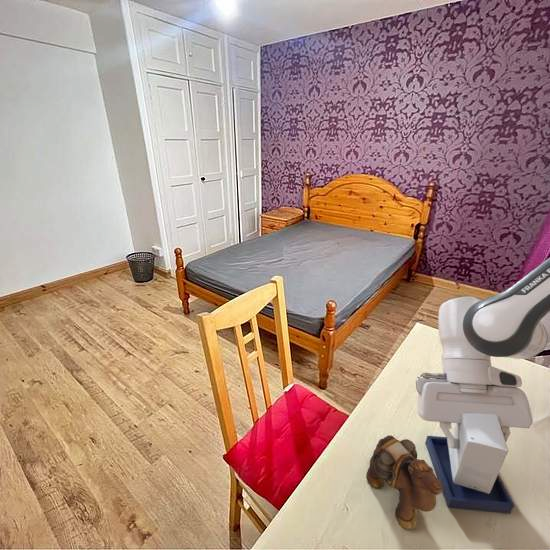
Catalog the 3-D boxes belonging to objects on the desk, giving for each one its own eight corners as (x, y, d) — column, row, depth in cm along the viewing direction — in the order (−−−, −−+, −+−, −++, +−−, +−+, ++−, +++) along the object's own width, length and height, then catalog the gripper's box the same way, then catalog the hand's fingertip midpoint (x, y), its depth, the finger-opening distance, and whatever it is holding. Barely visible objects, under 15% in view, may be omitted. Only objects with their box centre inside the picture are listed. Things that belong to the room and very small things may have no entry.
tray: (476, 447, 69) (479, 439, 68) (510, 513, 57) (514, 506, 56) (424, 442, 70) (427, 435, 69) (447, 507, 59) (450, 500, 57)
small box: (490, 495, 58) (509, 452, 52) (452, 483, 60) (467, 441, 54) (481, 455, 65) (497, 413, 59) (447, 446, 67) (460, 405, 61)
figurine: (407, 549, 53) (424, 501, 46) (351, 469, 65) (358, 422, 59) (444, 521, 57) (465, 472, 50) (385, 450, 69) (395, 404, 62)
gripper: (420, 371, 61) (426, 449, 57) (530, 378, 59) (545, 458, 55) (410, 372, 67) (415, 442, 63) (509, 377, 65) (522, 450, 61)
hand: (476, 450), depth 59 cm, fingers closed on small box, 7 cm apart
